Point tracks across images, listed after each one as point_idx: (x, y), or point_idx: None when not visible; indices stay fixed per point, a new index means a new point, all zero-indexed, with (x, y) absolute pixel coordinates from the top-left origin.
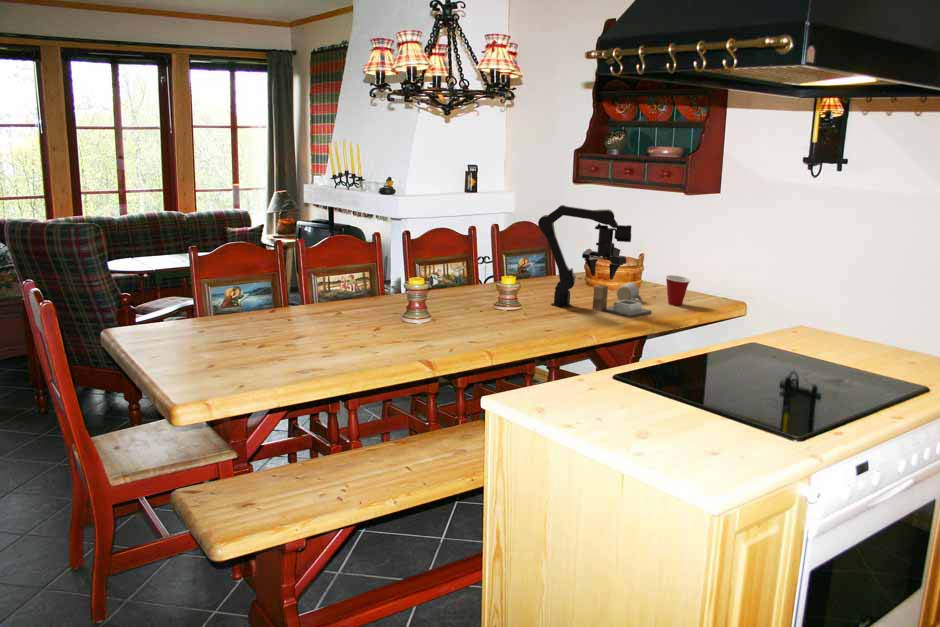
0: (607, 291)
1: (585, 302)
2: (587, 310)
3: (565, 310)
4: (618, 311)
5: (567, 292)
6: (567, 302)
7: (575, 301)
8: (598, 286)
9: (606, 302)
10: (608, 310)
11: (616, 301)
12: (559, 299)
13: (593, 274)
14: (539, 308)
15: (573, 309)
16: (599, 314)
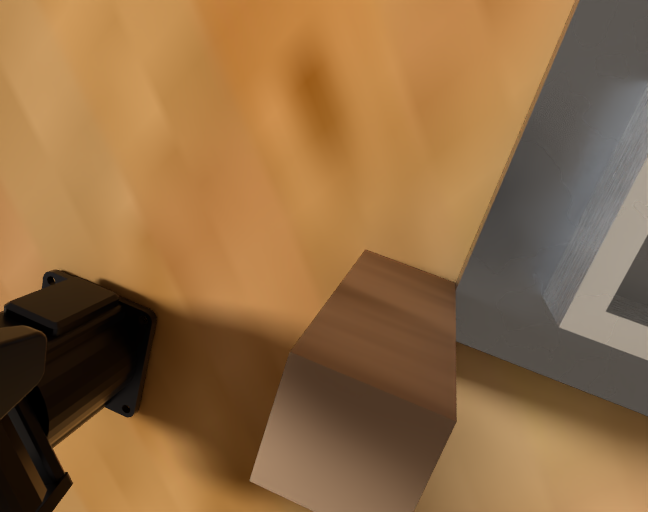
0: (455, 379)
1: (169, 92)
2: None
3: (194, 471)
4: (630, 388)
5: (68, 487)
6: (121, 370)
7: (91, 118)
8: (318, 494)
9: (453, 314)
10: (503, 355)
11: (584, 298)
12: (66, 433)
13: (13, 391)
14: None
15: (220, 413)
16: (460, 475)
